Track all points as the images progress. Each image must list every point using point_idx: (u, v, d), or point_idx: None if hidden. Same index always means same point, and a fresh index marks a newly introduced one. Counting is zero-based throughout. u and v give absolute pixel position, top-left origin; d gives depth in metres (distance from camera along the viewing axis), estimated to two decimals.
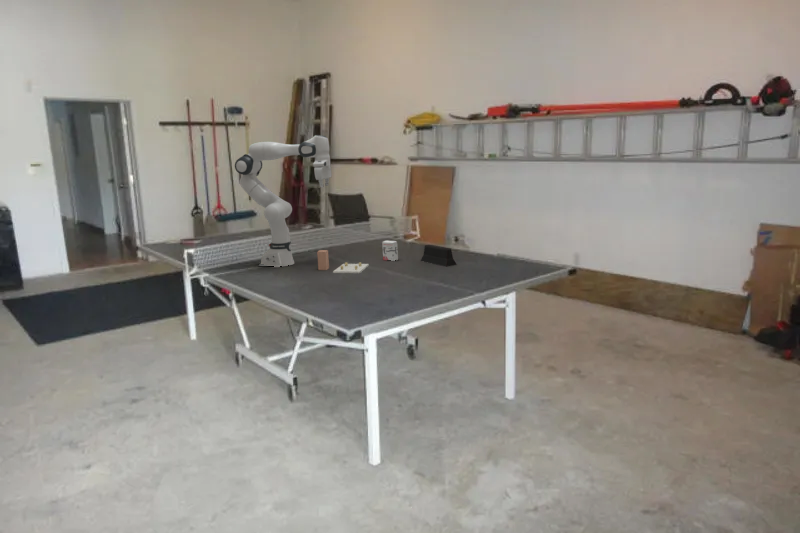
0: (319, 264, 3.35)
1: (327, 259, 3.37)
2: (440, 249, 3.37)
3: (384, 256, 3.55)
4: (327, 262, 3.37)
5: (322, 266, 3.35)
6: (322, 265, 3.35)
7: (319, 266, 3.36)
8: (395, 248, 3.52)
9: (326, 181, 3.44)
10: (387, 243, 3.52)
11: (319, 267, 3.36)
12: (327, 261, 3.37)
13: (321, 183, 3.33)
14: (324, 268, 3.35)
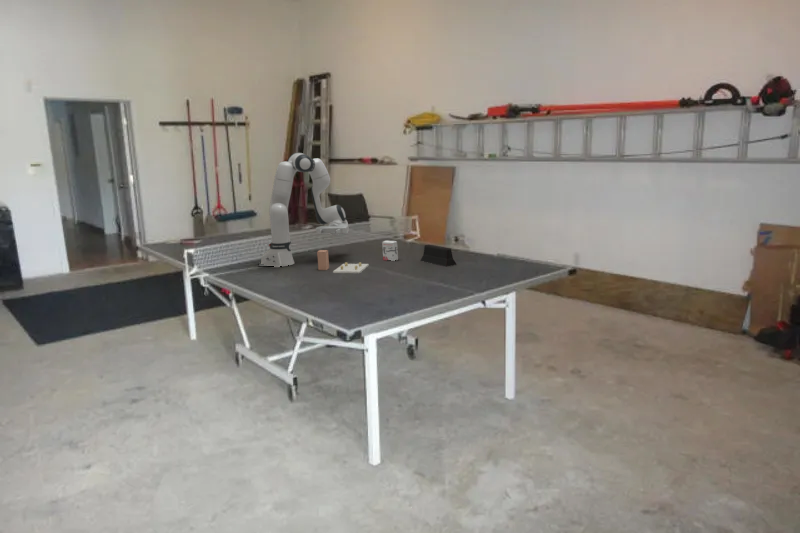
0: (319, 264, 3.35)
1: (327, 259, 3.37)
2: (440, 249, 3.37)
3: (384, 256, 3.55)
4: (327, 262, 3.37)
5: (322, 266, 3.35)
6: (322, 265, 3.35)
7: (319, 266, 3.36)
8: (395, 248, 3.52)
9: None
10: (387, 243, 3.52)
11: (319, 267, 3.36)
12: (327, 261, 3.37)
13: (338, 231, 3.47)
14: (324, 268, 3.35)
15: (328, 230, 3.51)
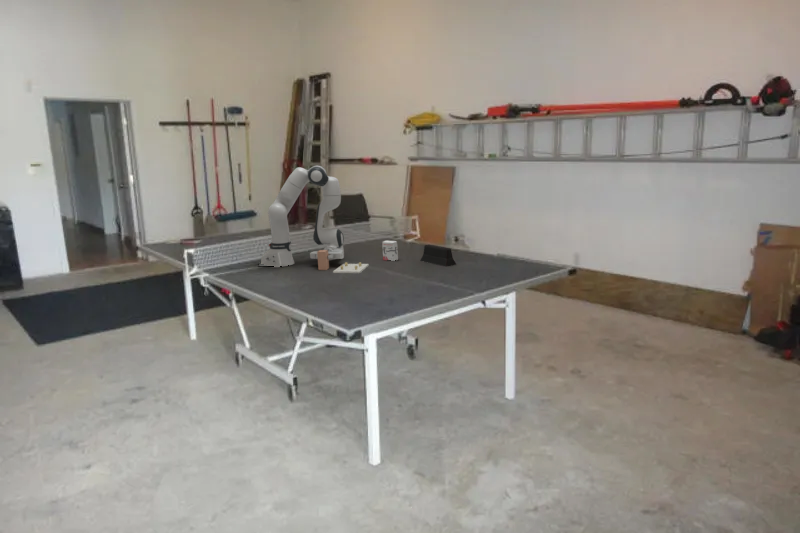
0: (319, 264, 3.35)
1: (327, 259, 3.37)
2: (440, 249, 3.37)
3: (384, 256, 3.55)
4: (327, 262, 3.37)
5: (322, 266, 3.35)
6: (322, 265, 3.35)
7: (319, 266, 3.36)
8: (395, 248, 3.52)
9: None
10: (387, 243, 3.52)
11: (319, 267, 3.36)
12: (327, 261, 3.37)
13: (330, 257, 3.38)
14: (324, 268, 3.35)
15: None
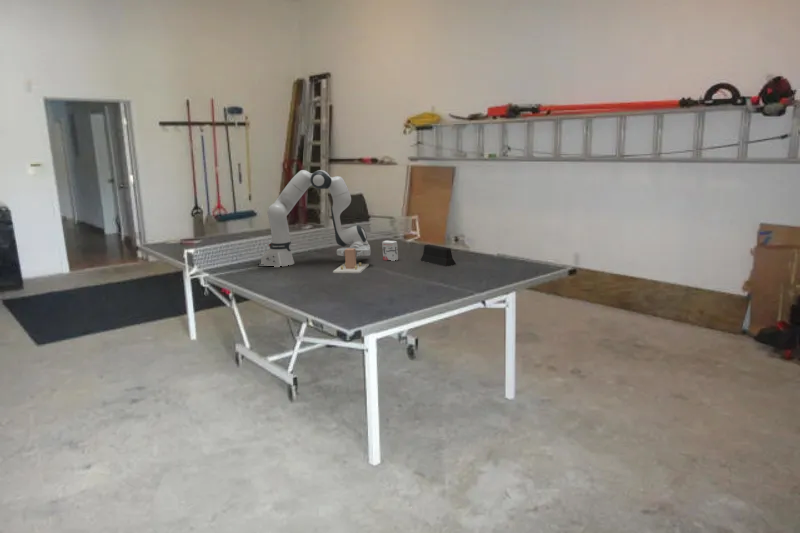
0: (346, 262, 3.32)
1: (354, 257, 3.33)
2: (439, 249, 3.38)
3: (384, 256, 3.55)
4: (355, 260, 3.34)
5: (350, 265, 3.32)
6: (349, 263, 3.32)
7: (346, 264, 3.32)
8: (395, 248, 3.52)
9: None
10: (387, 243, 3.52)
11: (346, 265, 3.32)
12: (354, 259, 3.33)
13: (360, 254, 3.33)
14: (352, 266, 3.32)
15: None
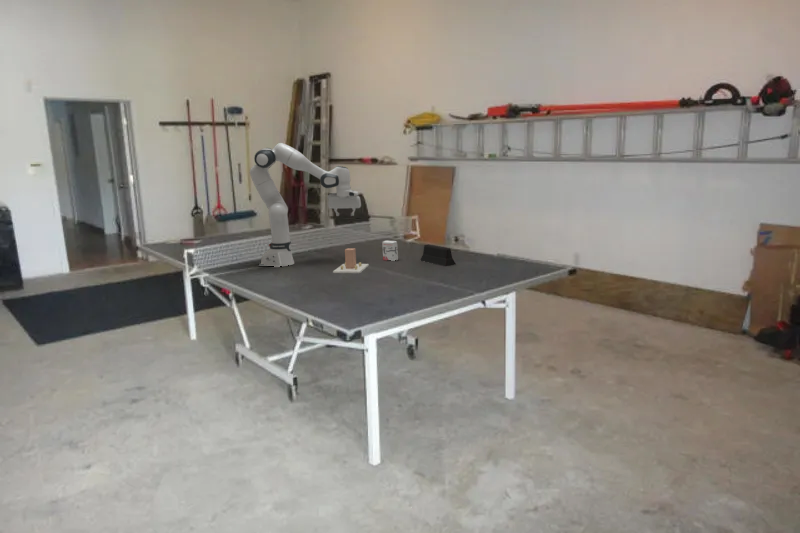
0: (346, 262, 3.32)
1: (354, 257, 3.33)
2: (439, 249, 3.38)
3: (384, 256, 3.55)
4: (355, 260, 3.34)
5: (350, 265, 3.32)
6: (349, 263, 3.32)
7: (346, 264, 3.32)
8: (395, 248, 3.52)
9: (336, 211, 3.49)
10: (387, 243, 3.52)
11: (346, 265, 3.32)
12: (354, 259, 3.33)
13: (354, 211, 3.48)
14: (352, 266, 3.32)
15: None
